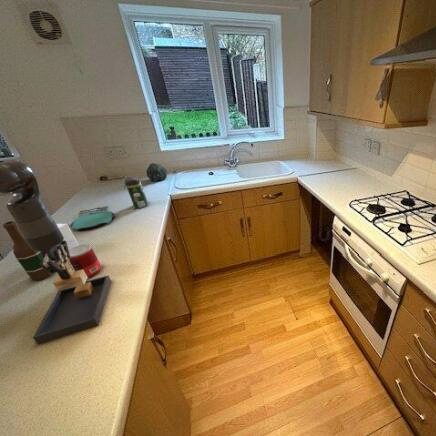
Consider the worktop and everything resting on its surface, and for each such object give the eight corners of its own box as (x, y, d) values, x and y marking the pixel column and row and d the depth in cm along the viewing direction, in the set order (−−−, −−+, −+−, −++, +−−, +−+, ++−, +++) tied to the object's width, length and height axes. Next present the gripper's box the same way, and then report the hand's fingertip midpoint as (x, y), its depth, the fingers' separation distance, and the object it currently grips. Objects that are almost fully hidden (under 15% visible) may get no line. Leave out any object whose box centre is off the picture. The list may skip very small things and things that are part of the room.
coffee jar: (134, 204, 155) (124, 176, 146) (148, 201, 158) (138, 174, 149) (133, 209, 147) (122, 181, 138) (148, 206, 150) (138, 178, 142)
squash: (167, 168, 205) (150, 158, 194) (172, 173, 195) (155, 162, 184) (157, 182, 204) (139, 172, 192) (162, 187, 194) (144, 177, 183)
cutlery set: (69, 235, 122) (67, 231, 121) (76, 213, 145) (75, 210, 144) (115, 224, 132) (113, 220, 130) (115, 205, 154) (114, 202, 153)
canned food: (104, 263, 101) (93, 242, 96) (98, 275, 94) (86, 253, 89) (83, 268, 99) (70, 246, 93) (75, 281, 92) (61, 258, 87)
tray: (38, 344, 69) (32, 338, 68) (64, 294, 86) (60, 287, 85) (98, 325, 74) (94, 318, 73) (111, 281, 92) (108, 275, 90)
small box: (81, 247, 112) (67, 223, 106) (68, 255, 107) (54, 231, 101) (65, 246, 113) (51, 223, 107) (52, 255, 108) (36, 230, 101)
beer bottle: (35, 271, 98) (-1, 220, 86) (59, 265, 101) (27, 215, 89) (27, 283, 92) (-13, 230, 80) (53, 276, 95) (18, 224, 83)
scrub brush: (58, 291, 77) (44, 270, 73) (62, 283, 81) (49, 263, 77) (84, 284, 80) (72, 264, 76) (87, 277, 83) (76, 257, 79)
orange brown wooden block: (77, 299, 83) (73, 292, 82) (80, 291, 87) (76, 285, 85) (91, 295, 85) (87, 289, 83) (93, 287, 88) (90, 281, 86)
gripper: (34, 222, 74) (61, 266, 83) (11, 246, 63) (44, 293, 72) (64, 217, 77) (87, 260, 85) (47, 239, 66) (75, 285, 74)
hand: (67, 275), depth 78 cm, fingers closed on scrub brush, 2 cm apart
